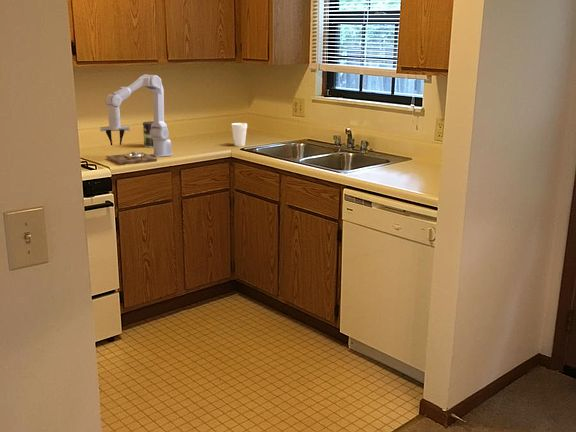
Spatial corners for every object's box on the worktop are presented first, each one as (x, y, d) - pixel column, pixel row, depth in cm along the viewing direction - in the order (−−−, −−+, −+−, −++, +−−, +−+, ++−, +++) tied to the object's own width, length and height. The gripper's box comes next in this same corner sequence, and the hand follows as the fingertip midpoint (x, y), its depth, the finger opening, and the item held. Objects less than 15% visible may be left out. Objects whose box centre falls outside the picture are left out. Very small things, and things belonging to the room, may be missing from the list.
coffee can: (145, 148, 363) (144, 124, 359) (142, 145, 372) (141, 121, 368) (162, 147, 366) (161, 123, 362) (160, 144, 375) (158, 121, 371)
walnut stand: (142, 155, 341) (142, 147, 340) (156, 161, 326) (156, 152, 324) (107, 158, 331) (106, 150, 329) (120, 165, 315) (119, 156, 313)
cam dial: (128, 154, 335) (128, 149, 334) (146, 154, 334) (146, 149, 333) (119, 159, 321) (118, 154, 320) (138, 159, 320) (137, 154, 319)
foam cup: (229, 146, 372) (229, 124, 368) (234, 143, 381) (234, 122, 377) (244, 147, 370) (244, 125, 366) (249, 144, 378) (249, 123, 375)
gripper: (99, 119, 309) (101, 146, 313) (129, 119, 312) (130, 145, 316) (99, 117, 315) (101, 144, 319) (128, 117, 319) (130, 143, 323)
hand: (116, 144), depth 318 cm, fingers open, 4 cm apart
